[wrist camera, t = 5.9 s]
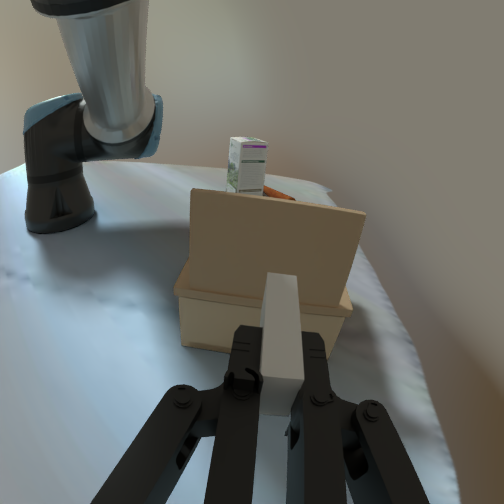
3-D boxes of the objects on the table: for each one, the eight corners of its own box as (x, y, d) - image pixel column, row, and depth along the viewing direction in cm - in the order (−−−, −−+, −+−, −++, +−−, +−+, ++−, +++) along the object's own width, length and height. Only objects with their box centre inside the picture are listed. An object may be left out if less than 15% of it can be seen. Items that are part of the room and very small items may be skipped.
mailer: (181, 345, 26) (178, 296, 24) (209, 268, 39) (211, 227, 36) (326, 363, 26) (345, 317, 23) (313, 282, 38) (323, 242, 36)
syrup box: (261, 214, 58) (270, 142, 51) (233, 216, 55) (241, 140, 48) (249, 204, 62) (257, 137, 55) (223, 205, 60) (229, 136, 53)
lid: (173, 295, 23) (171, 190, 19) (209, 224, 36) (213, 153, 32) (350, 317, 23) (383, 219, 19) (326, 239, 36) (341, 171, 31)
